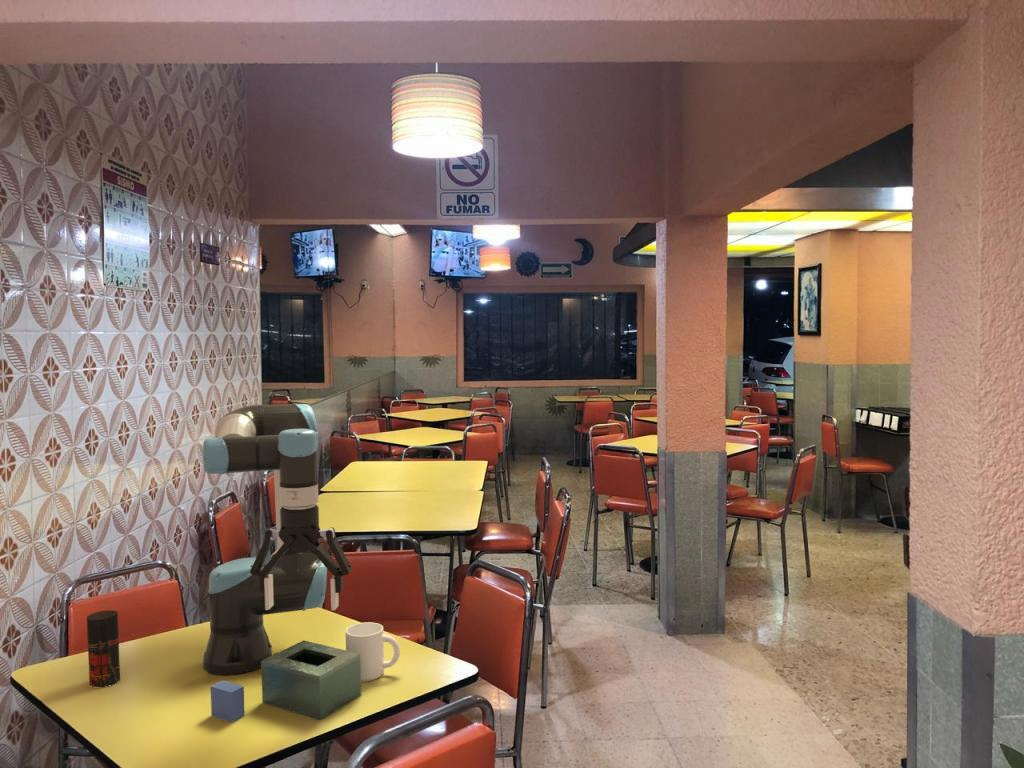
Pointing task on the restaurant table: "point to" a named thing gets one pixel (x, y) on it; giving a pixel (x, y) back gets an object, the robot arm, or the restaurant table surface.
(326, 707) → the coin box
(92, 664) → the deodorant
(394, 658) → the mug
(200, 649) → the restaurant table surface
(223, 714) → the blue block
